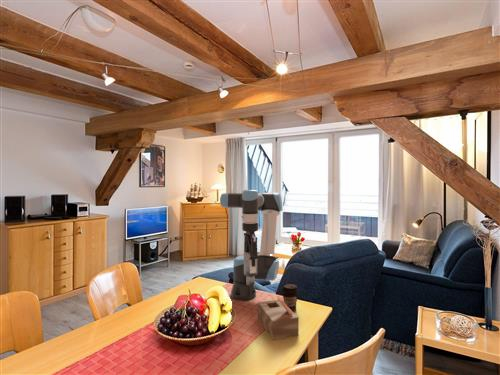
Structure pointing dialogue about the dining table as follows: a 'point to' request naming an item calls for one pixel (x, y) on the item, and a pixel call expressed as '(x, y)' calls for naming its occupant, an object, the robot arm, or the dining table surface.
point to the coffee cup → (290, 296)
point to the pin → (249, 276)
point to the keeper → (284, 305)
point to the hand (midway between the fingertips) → (250, 270)
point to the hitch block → (277, 320)
